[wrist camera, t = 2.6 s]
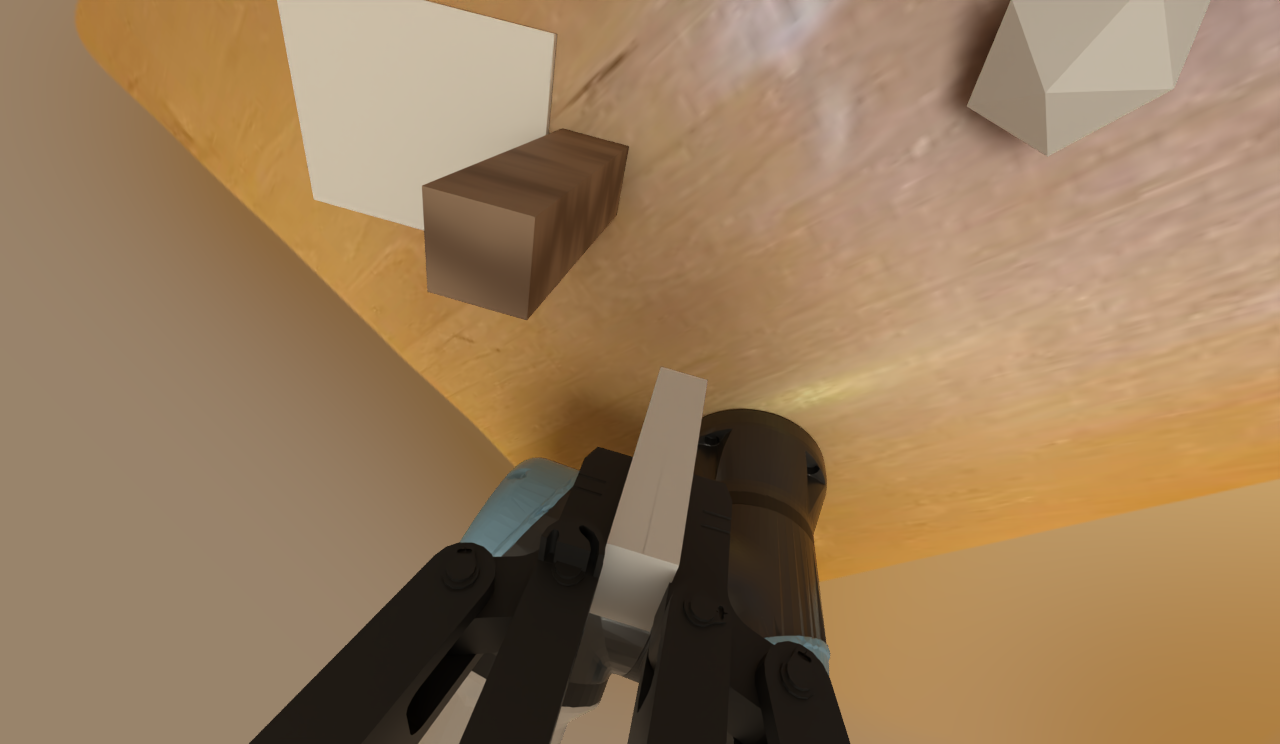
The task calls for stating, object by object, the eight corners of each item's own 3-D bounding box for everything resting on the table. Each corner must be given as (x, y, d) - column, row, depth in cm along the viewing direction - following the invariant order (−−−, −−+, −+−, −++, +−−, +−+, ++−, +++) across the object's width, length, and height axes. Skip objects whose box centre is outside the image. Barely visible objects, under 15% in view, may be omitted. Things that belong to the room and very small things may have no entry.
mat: (537, 259, 41) (535, 261, 41) (318, 197, 42) (313, 199, 42) (557, 34, 32) (554, 34, 32) (275, -39, 33) (269, -40, 32)
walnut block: (616, 214, 38) (526, 320, 23) (555, 197, 38) (427, 291, 23) (628, 146, 35) (535, 217, 20) (562, 128, 35) (421, 185, 20)
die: (928, 130, 31) (1058, 209, 26) (943, -15, 24) (1125, 49, 19) (1047, 54, 30) (1210, 118, 25) (1098, -120, 23) (1339, -85, 18)
